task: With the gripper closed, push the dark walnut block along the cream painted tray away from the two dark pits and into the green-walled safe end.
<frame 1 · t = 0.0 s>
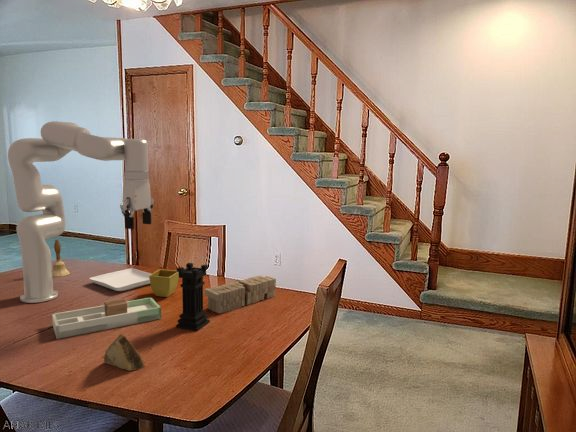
hand: (138, 226, 151), 31 cm above the table, tool pointing down, fingers open, 9 cm apart
rock: (123, 365, 120), on the table
hand bell: (59, 275, 198), on the table
salad plate: (125, 284, 188), on the table
block tower: (241, 303, 169), on the table
walnut block: (116, 314, 148), point 2 cm above the table, touching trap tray
chess piece: (193, 325, 147), on the table
flower pot: (164, 295, 175), on the table
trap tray: (108, 322, 147), on the table
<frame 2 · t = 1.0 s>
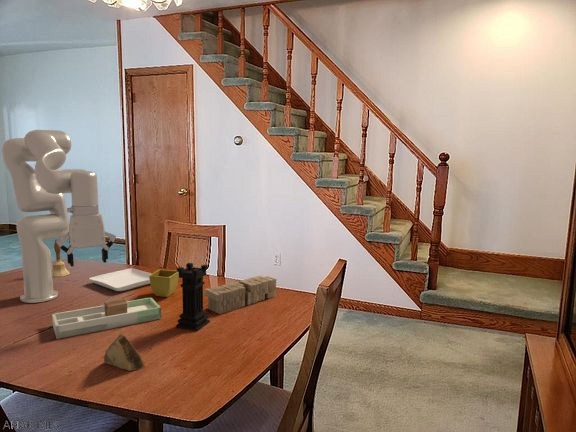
hand: (88, 263, 141), 21 cm above the table, tool pointing down, fingers open, 9 cm apart
nothing on the table moved.
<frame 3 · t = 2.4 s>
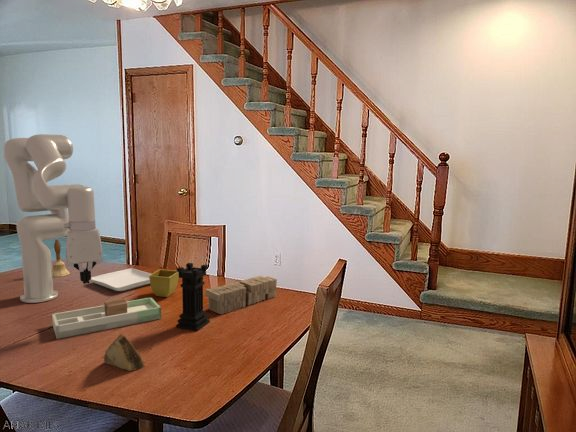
hand: (85, 282, 141), 15 cm above the table, tool pointing down, fingers closed
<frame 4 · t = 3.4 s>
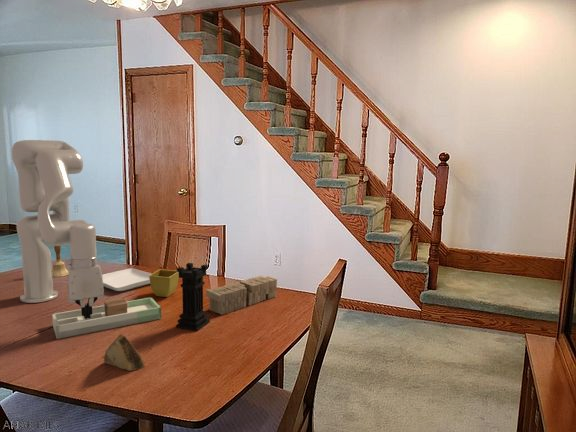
hand: (87, 317, 143), 3 cm above the table, tool pointing down, fingers closed
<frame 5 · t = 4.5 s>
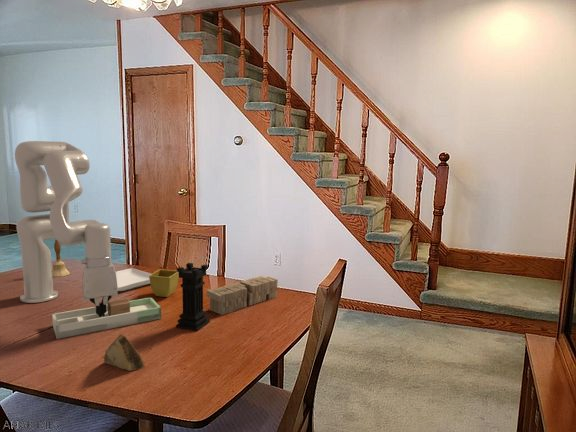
hand: (101, 315, 146), 3 cm above the table, tool pointing down, fingers closed
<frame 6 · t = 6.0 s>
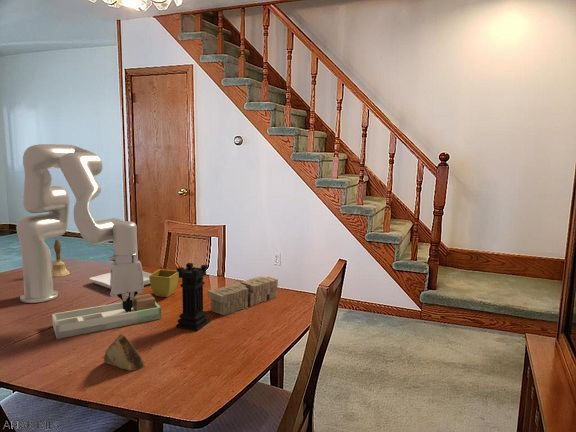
hand: (127, 310, 150), 3 cm above the table, tool pointing down, fingers closed
walnut block: (144, 309, 153), point 2 cm above the table, touching gripper
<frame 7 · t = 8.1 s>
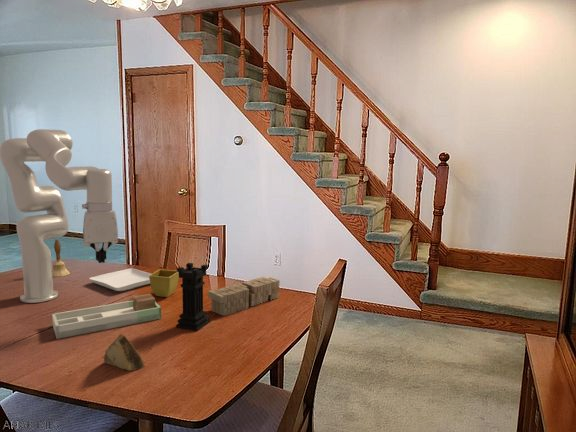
hand: (101, 261, 146), 20 cm above the table, tool pointing down, fingers closed
walnut block: (144, 309, 154), point 2 cm above the table, touching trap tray
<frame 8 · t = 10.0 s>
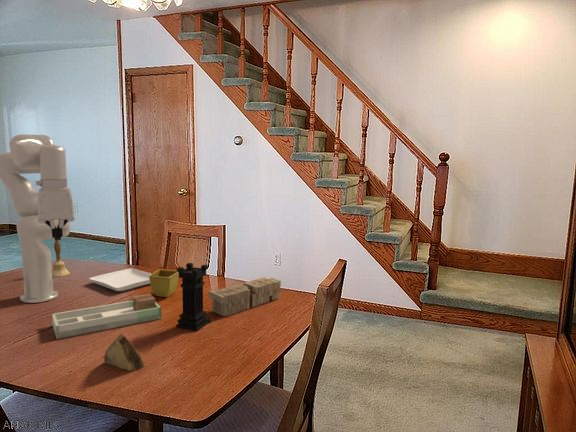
hand: (57, 239, 146), 27 cm above the table, tool pointing down, fingers closed
at the end: walnut block inside the target area on the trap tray (0.6 cm from its centre), point 2.0 cm above the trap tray's base; walnut block tilted 0° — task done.
